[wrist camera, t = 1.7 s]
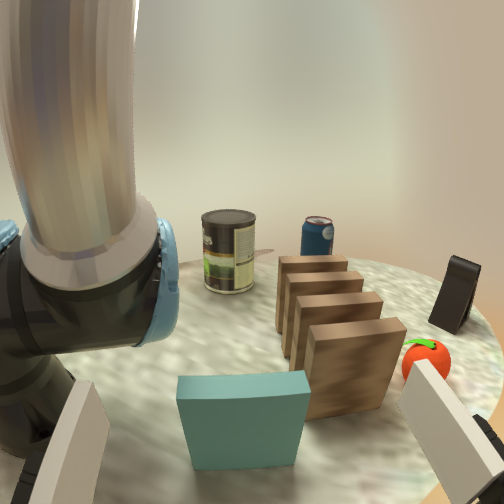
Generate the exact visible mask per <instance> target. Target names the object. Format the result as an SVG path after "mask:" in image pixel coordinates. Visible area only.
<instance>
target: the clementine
mask: <svg viewBox="0 0 504 504" xmlns="http://www.w3.org/2000/svg"><path fill="white" fill-rule="evenodd" d="M407 343H415V344H414V345H412V346H411V347H410V348H409V350H408V351H407V352H406V354H405V356H404V358H403V362H402V374H403V377H404V379H405V381H407V378H408V375H409V373H410V370H411V367H412V365H413V362H414V361H419V360H423V359H428V360H429V361H430V363H431V364H432V365H433V366H434V368H435V369H436V370H437V371H438V373H439V374H440V375H441V376H442V378H443V379H444V380H445V379H446V377H447V376H448V374H449V371H450V367H451V358H450V354H449V352H448V350H447V348H446V347H445V346H444V345H443V344H442V343H440V342H438V341H436V340H431V339H428V340H427V339H414V340H410V341H408V342H406V343H404V344H407ZM404 344H403V345H404ZM403 345H402V346H403Z"/></svg>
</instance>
